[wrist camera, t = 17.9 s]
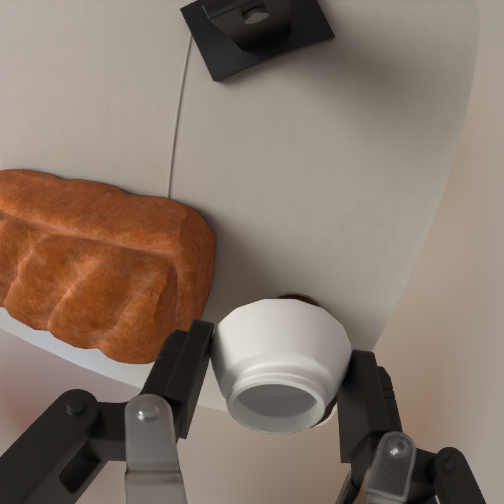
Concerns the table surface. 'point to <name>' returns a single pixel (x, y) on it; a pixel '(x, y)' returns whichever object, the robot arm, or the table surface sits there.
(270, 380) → the white jar
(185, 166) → the table surface
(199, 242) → the bread
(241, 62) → the bracket
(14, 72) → the table surface
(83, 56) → the table surface
